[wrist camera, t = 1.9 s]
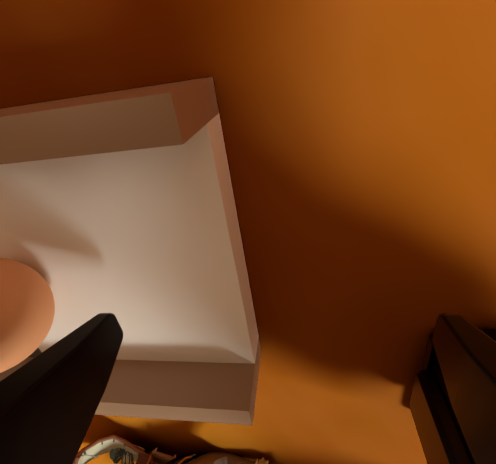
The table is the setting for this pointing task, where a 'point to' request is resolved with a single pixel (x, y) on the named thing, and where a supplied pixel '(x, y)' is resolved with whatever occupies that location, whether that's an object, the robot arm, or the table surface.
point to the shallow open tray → (137, 243)
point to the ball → (22, 312)
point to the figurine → (151, 454)
